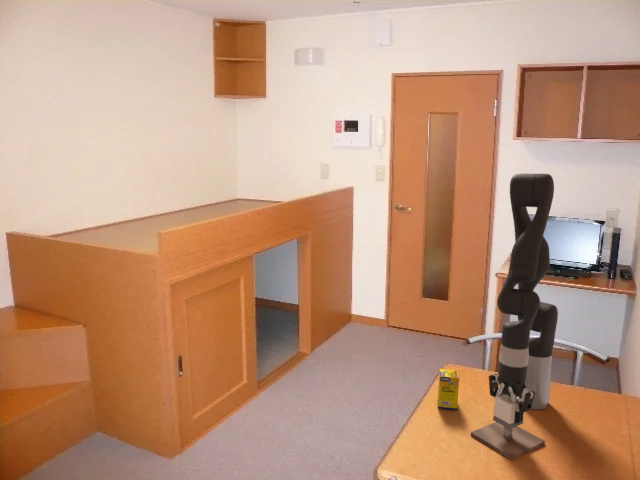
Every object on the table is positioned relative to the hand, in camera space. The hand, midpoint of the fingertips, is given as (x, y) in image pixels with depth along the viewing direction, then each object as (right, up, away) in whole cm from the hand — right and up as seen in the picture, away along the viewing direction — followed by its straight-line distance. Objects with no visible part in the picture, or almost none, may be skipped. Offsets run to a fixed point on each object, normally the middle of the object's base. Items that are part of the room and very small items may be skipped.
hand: (508, 417), depth 154 cm
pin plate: (0, -7, +1) cm, 7 cm away
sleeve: (0, -1, 0) cm, 1 cm away
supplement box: (-12, -3, +20) cm, 24 cm away
